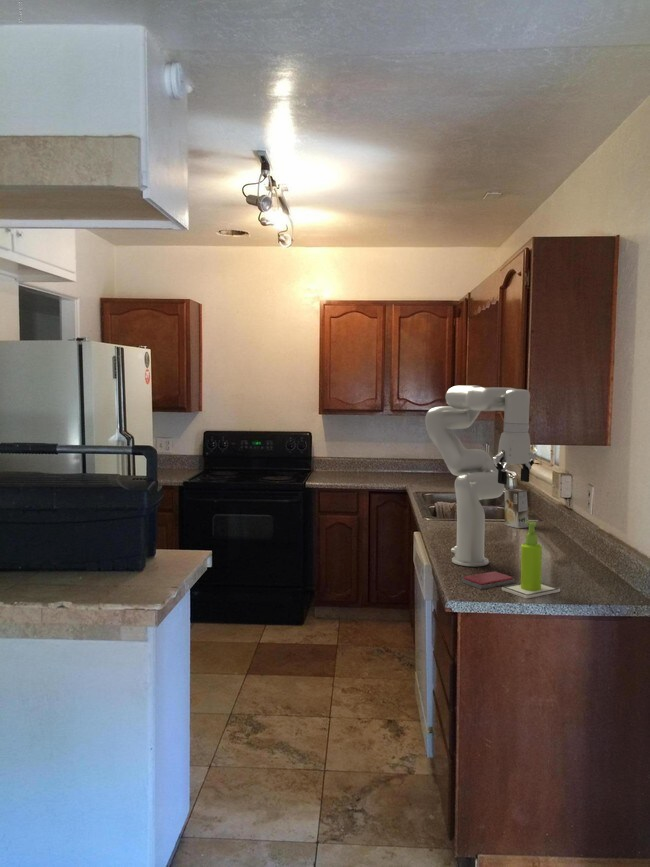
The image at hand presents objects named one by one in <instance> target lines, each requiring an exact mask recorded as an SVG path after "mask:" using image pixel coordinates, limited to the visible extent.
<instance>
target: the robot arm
mask: <svg viewBox="0 0 650 867" xmlns="http://www.w3.org/2000/svg"><path fill="white" fill-rule="evenodd" d="M530 400H531V393H530V391H529V390H528V389H521V388H514V387H502V386H501V387H496V386H495V387H494V386H493V387H484V386H481V385H470V384H469V385H467V384H466V385H462V384H461V385H459V384H458V385H454V386H452V387H450V388H448V390H447V391H446V393H445V401H446V404H447V406H446V405H444V406H441V405H440V406H436V407H432V408H431V409H429V410H428V411H427V412H426V415H425V419H424V422H425V429H426V433H427V435H428V437H429V439H430V440H431V441H432V443H433V444H434V445H435V446H436V448H437V450H438V452H439V453H440V455H441V457H442V459H443V461H444V463H445V465H446V467H447V469H448V471H449V472H450V473H451V474H452V475H453V476H456V478H455V480H454V493H455V499H456V501H455V502H456V545H455V546H454V547H452V548H451V549H450V551H451V553H454V556H453V557H452V558H451V562H452V563H453V564H455V565H458V566H464V567H471V568H472V567H484V566H488V565H489V563H490V562H489V559H488V558H487V557H485V530H486V529H485V524H486V521H485V520H486V515H485V509H484V507H483V505H482V504H481V502H480V500H490V499H491V500H492V499H497V498H499V497H502V495H503V494H504V493H505V485H506V484H507V481H508V480H507V476H508V474H507V473H508V472H507V471H506V470H507V468H508V467H509V466H521V467H522V468H520V481H521V482H526V483H529V482H530V471H531V469H532V467H533V465H534V464H535V463H534V462H535V460H536V457H537V455H536V454H535V453H534V452H532V451H531V438H530V433H529V429H530V424H529V423H530V404H531V403H530V402H531V401H530ZM498 411H500V412H503V432H501V434H500V438H499V441H498V449H497V454H496V455H494V456H493V457H491V455H490V454H489V453H488V452H487V451H485V450H484V449H480V448H470V449H468V448H467V447H465V446H464V445H463V442H462V440H460V438H459V437H458V435H456V434H455V433H453V432H452V431H451V430H463V429H464V430H465V429H468V428H469V427H471V426H472V425H473V424H474V422H475V421H476V419H477V417H478V416H479V415H480V413H481V412H498Z"/></svg>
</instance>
